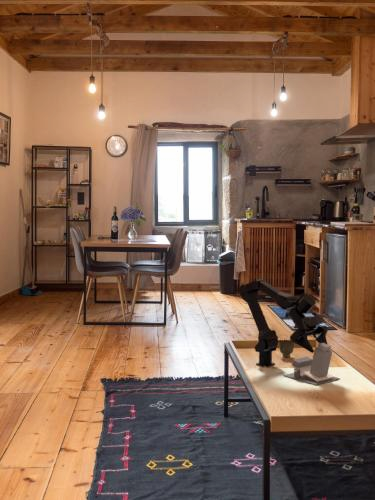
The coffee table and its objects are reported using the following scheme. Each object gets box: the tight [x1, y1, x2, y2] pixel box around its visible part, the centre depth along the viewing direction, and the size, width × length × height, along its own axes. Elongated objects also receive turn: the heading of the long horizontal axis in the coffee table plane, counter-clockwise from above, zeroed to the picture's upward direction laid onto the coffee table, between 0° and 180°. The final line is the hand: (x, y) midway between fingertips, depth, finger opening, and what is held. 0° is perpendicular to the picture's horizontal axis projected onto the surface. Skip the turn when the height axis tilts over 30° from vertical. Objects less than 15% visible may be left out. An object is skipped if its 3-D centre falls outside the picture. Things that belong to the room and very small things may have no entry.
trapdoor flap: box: [290, 356, 334, 382], centre depth 220 cm, size 14×10×3 cm
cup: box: [278, 339, 295, 359], centre depth 256 cm, size 8×7×8 cm
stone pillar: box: [310, 343, 333, 378], centre depth 216 cm, size 5×5×13 cm
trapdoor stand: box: [283, 368, 341, 386], centre depth 220 cm, size 17×15×4 cm
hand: (320, 350), depth 216 cm, fingers open, 9 cm apart
